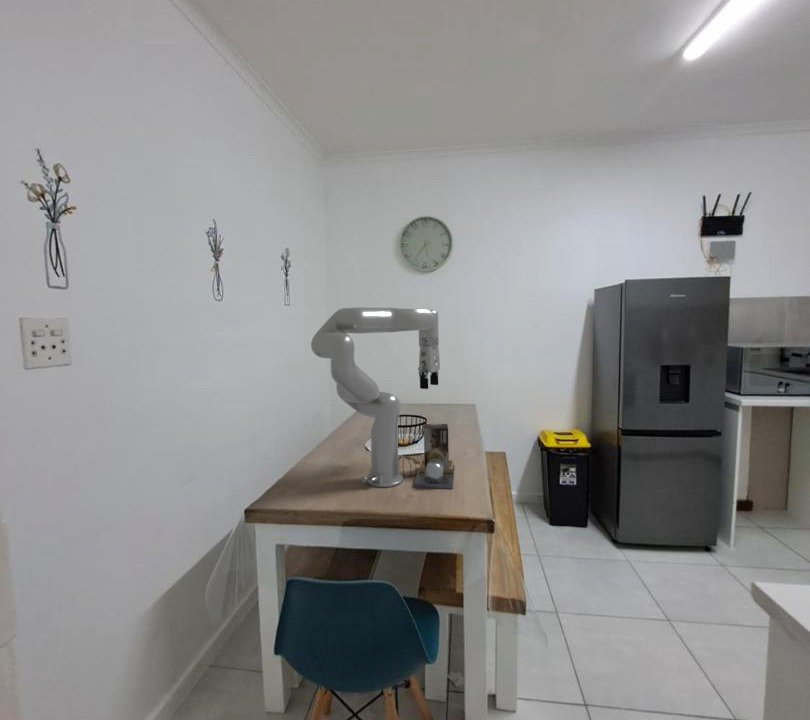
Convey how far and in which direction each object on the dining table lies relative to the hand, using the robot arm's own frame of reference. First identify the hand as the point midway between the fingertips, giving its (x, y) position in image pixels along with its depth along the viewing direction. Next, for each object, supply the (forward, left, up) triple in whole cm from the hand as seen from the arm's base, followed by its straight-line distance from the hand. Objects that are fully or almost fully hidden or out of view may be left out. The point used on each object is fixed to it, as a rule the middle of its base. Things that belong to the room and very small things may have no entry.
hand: (429, 386), depth 163 cm
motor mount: (-9, -9, -31) cm, 34 cm away
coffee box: (-5, -7, -30) cm, 31 cm away
